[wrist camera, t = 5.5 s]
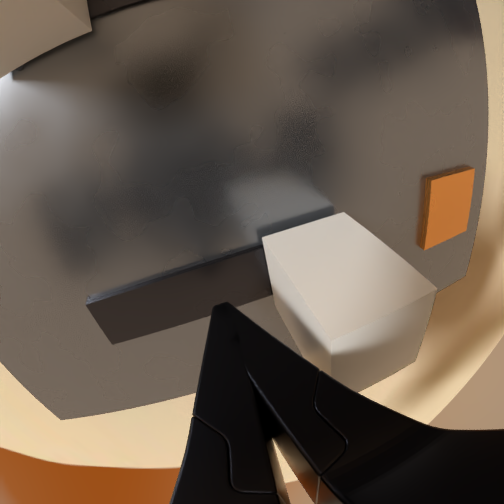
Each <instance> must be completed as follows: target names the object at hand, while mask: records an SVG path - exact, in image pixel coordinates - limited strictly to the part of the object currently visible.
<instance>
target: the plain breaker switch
mask: <svg viewBox="0 0 504 504" xmlns="http://www.w3.org/2000/svg"><path fill="white" fill-rule="evenodd" d="M90 31H92V27H91V22H90V16H89V11H88V5H87V0H0V78H2V77H3V76H5V75H6V74H8V73H10V72H11V71H13V70H15V69H16V68H18V67H20V66H21V65H23V64H25V63H26V62H28V61H30V60H32V59H33V58H35V57H37V56H39V55H41V54H43V53H45V52H47V51H49V50H51V49H53V48H55V47H57V46H59V45H61V44H63V43H65V42H67V41H69V40H72V39H74V38H76V37H78V36H81V35H83V34H85V33H88V32H90Z"/></svg>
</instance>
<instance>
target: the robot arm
mask: <svg viewBox="0 0 504 504" xmlns="http://www.w3.org/2000/svg"><path fill="white" fill-rule="evenodd" d="M192 415H193V416H194V417H192V418H191V424H190V430H189V435H188V440H187V445H186V449H185V454H184V457H183V461H182V464H181V468H180V472H179V475H178V478H177V481H176V484H175V487H174V491H173V494H172V497H171V500H170V503H169V504H291V503H290V500H289V497H288V493H287V490H286V486H285V483H284V479H283V475H282V472H281V468H280V465H279V461H278V458H277V454H276V450H275V447H274V443H273V440H274V442H275V443H276V445H277V447H278V448H279V450H280V452H281V453H282V455H283V456H284V458H285V460H286V461H287V463H288V464H289V466H290V468H291V469H292V471H293V472H294V474H295V475H296V477H297V478H298V480H299V481H300V483H301V484H302V486H303V488H304V489H305V490H306V492H307V493H308V495H309V496H310V498H311V499H312V501H313V502H314V504H504V429H493V430H450V429H442V428H437V427H432V426H430V425H426V424H424V423H421V422H419V421H416V420H414V419H412V418H409V417H407V416H405V415H403V414H400V413H398V412H396V411H394V410H392V409H389V408H387V407H385V406H383V405H381V404H379V403H377V402H374V401H372V400H370V399H368V398H366V397H365V396H363V395H361V394H359V393H357V392H355V391H353V390H351V389H350V388H348V387H347V386H345V385H343V384H342V383H340V382H339V381H337V380H335V379H334V378H332V377H331V376H329V375H328V374H327V373H325V372H324V371H322V370H321V371H320V369H319V368H318V367H316V366H315V365H313V364H312V363H310V362H309V361H308V360H306V359H305V358H303V357H302V356H301V355H299V354H298V353H296V352H295V351H294V350H292V349H291V348H289V347H288V346H287V345H285V344H284V343H283V342H281V341H280V340H278V339H277V338H276V337H274V336H273V335H272V334H270V333H269V332H267V331H266V330H265V329H263V328H262V327H261V326H259V325H258V324H257V323H255V322H254V321H253V320H251V319H250V318H249V317H247V316H246V315H245V314H243V313H242V312H241V311H240V310H238V309H237V308H236V307H234V306H233V305H232V304H230V303H229V302H224V303H221V304H218V305H215V306H214V307H213V309H212V313H211V318H210V323H209V328H208V333H207V339H206V344H205V349H204V354H203V359H202V364H201V370H200V375H199V380H198V386H197V391H196V397H195V402H194V408H193V414H192ZM272 438H273V439H272Z"/></svg>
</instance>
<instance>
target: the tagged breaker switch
mask: <svg viewBox="0 0 504 504" xmlns="http://www.w3.org/2000/svg"><path fill="white" fill-rule="evenodd" d="M262 241H263V246H264V251H265V256H266V261H267V266H268V271H269V276H270V281H271V287H272V292H273V297H274V302H275V306H276V308H277V310H278V312H279V314H280V316H281V317H282V319H283V321H284V323H285V325H286V327H287V328H288V330H289V332H290V334H291V336H292V338H293V340H294V341H295V343H296V345H297V347H298V349H299V350H300V352H301V354H302V356H303V358H305V359H306V360H308V361H309V362H310V363H312V364H313V365H315V366H316V367H318V368H319V369H320V371H321V370H322V371H324V372H325V373H327V374H328V375H329V376H331V377H332V378H334V379H335V380H337V381H339V382H340V383H342V384H343V385H345V386H347V387H348V388H350V389H351V390H353V391H355V392H357V393H358V392H360V391H362V390H364V389H366V388H368V387H370V386H372V385H374V384H376V383H378V382H379V381H381V380H383V379H385V378H387V377H389V376H391V375H392V374H394V373H396V372H398V371H399V370H401V369H403V368H405V367H406V366H408V365H410V364H411V363H413V362H415V360H416V358H417V355H418V352H419V349H420V346H421V343H422V340H423V337H424V334H425V331H426V328H427V325H428V321H429V318H430V315H431V311H432V308H433V304H434V300H435V297H436V293H437V289H438V288H436V287H435V286H434V285H433V284H432V283H431V282H430V281H429V280H427V279H426V278H425V277H424V276H423V275H422V274H420V273H419V272H418V271H417V270H416V269H415V268H414V267H412V266H411V265H410V264H409V263H408V262H406V261H405V260H404V259H403V258H402V257H400V256H399V255H398V254H397V253H396V252H394V251H393V250H392V249H391V248H389V247H388V246H387V245H386V244H385V243H383V242H382V241H381V240H380V239H378V238H377V237H376V236H375V235H373V234H372V233H371V232H369V231H368V230H367V229H366V228H364V227H363V226H362V225H360V224H359V223H358V222H356V221H355V220H354V219H353V218H351V217H350V216H349V215H347V214H346V213H345V212H342V213H339V214H336V215H332V216H329V217H326V218H323V219H319V220H316V221H313V222H310V223H307V224H303V225H300V226H297V227H294V228H290V229H287V230H284V231H281V232H278V233H274V234H271V235H268V236H265V237H262Z"/></svg>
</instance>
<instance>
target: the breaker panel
mask: <svg viewBox="0 0 504 504" xmlns="http://www.w3.org/2000/svg"><path fill="white" fill-rule="evenodd" d="M87 5H88V11H89V16H90V22H91V27H92V31H90V32H88V33H85V34H83V35H81V36H78V37H76V38H74V39H72V40H69V41H67V42H65V43H63V44H61V45H59V46H57V47H55V48H53V49H51V50H49V51H47V52H45V53H43V54H41V55H39V56H37V57H35V58H33V59H32V60H30V61H28V62H26V63H25V64H23V65H21V66H20V67H18V68H16V69H15V70H13V71H11V72H10V73H8V74H6V75H5V76H3V77H2V78H0V362H1V363H2V364H3V365H4V366H5V367H6V368H7V370H8V371H9V372H10V373H11V374H12V375H13V376H14V377H15V378H16V379H17V380H18V381H19V382H20V383H21V384H22V385H23V386H24V387H25V388H26V389H27V390H28V391H29V392H30V393H31V394H32V395H33V396H34V397H35V398H36V399H38V400H39V401H40V402H41V403H42V404H43V405H44V406H45V407H46V408H48V409H49V410H50V411H51V412H52V413H53V414H54V415H56V416H57V417H58V418H59V419H60V420H65V419H73V418H80V417H87V416H93V415H99V414H105V413H110V412H115V411H121V410H126V409H131V408H135V407H140V406H145V405H149V404H153V403H158V402H162V401H166V400H170V399H174V398H178V397H181V396H185V395H189V394H193V393H196V391H197V386H198V380H199V375H200V370H201V364H202V359H203V354H204V349H205V344H206V339H207V333H208V328H209V323H210V318H211V313H212V309H213V307H214V306H215V305H218V304H221V303H224V302H229V303H230V304H232V305H233V306H234V307H236V308H237V309H238V310H240V311H241V312H242V313H243V314H245V315H246V316H247V317H249V318H250V319H251V320H253V321H254V322H255V323H257V324H258V325H259V326H261V327H262V328H263V329H265V330H266V331H267V332H269V333H270V334H272V335H273V336H274V337H276V338H277V339H278V340H280V341H281V342H283V343H284V344H285V345H287V346H288V347H289V348H291V349H292V350H294V351H295V352H296V353H298V354H299V355H301V356H302V354H301V352H300V350H299V349H298V347H297V345H296V343H295V341H294V340H293V338H292V336H291V334H290V332H289V330H288V328H287V327H286V325H285V323H284V321H283V319H282V317H281V316H280V314H279V312H278V310H277V308H276V306H275V302H274V297H273V292H272V287H271V281H270V276H269V271H268V266H267V261H266V256H265V251H264V246H263V241H262V237H265V236H268V235H271V234H274V233H278V232H281V231H284V230H287V229H290V228H294V227H297V226H300V225H303V224H307V223H310V222H313V221H316V220H319V219H323V218H326V217H329V216H332V215H336V214H339V213H342V212H345V213H346V214H347V215H349V216H350V217H351V218H353V219H354V220H355V221H356V222H358V223H359V224H360V225H362V226H363V227H364V228H366V229H367V230H368V231H369V232H371V233H372V234H373V235H375V236H376V237H377V238H378V239H380V240H381V241H382V242H383V243H385V244H386V245H387V246H388V247H389V248H391V249H392V250H393V251H394V252H396V253H397V254H398V255H399V256H400V257H402V258H403V259H404V260H405V261H406V262H408V263H409V264H410V265H411V266H412V267H414V268H415V269H416V270H417V271H418V272H419V273H420V274H422V275H423V276H424V277H425V278H426V279H427V280H429V281H430V282H431V283H432V284H433V285H434V286H435V287H436V288H438V289H437V292H439V291H441V290H442V289H444V288H446V287H448V286H449V285H451V284H453V283H454V282H456V281H458V280H459V279H461V278H463V277H464V276H465V275H466V272H467V268H468V264H469V260H470V256H471V252H472V248H473V244H474V239H475V234H476V230H477V225H478V219H479V214H480V208H481V201H482V195H483V187H484V179H485V170H486V158H487V143H488V84H487V70H486V59H485V50H484V42H483V36H482V29H481V23H480V18H479V13H478V8H477V4H476V0H87ZM302 357H303V356H302Z"/></svg>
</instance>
